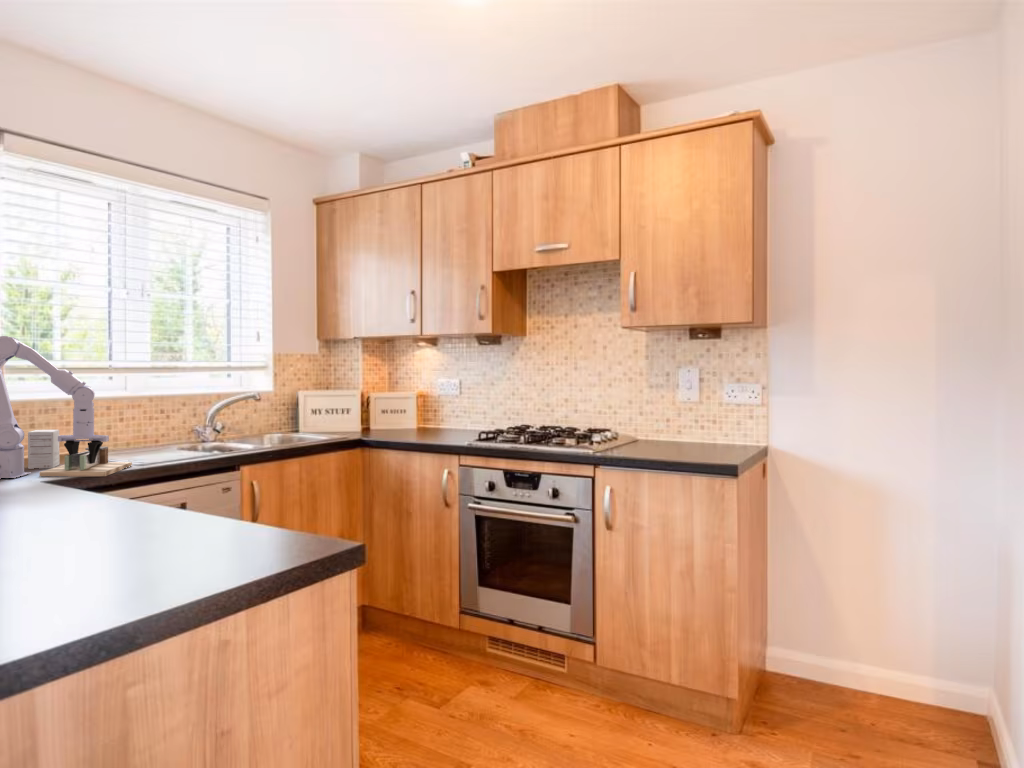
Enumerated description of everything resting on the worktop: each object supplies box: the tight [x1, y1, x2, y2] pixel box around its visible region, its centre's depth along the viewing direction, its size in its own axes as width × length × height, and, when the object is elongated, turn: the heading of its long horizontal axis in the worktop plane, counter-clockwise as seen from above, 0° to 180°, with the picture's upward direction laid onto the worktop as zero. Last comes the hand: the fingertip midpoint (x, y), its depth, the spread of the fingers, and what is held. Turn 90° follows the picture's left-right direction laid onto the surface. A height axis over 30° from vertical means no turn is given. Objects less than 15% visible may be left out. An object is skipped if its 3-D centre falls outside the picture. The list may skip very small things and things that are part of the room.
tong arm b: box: [64, 450, 89, 470], centre depth 208 cm, size 14×1×5 cm, turn 4°
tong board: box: [39, 446, 133, 477], centre depth 209 cm, size 20×19×7 cm
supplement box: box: [27, 429, 60, 470], centre depth 216 cm, size 7×7×13 cm
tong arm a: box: [80, 450, 100, 470], centre depth 208 cm, size 14×1×5 cm, turn 16°
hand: (83, 463), depth 207 cm, fingers open, 4 cm apart
